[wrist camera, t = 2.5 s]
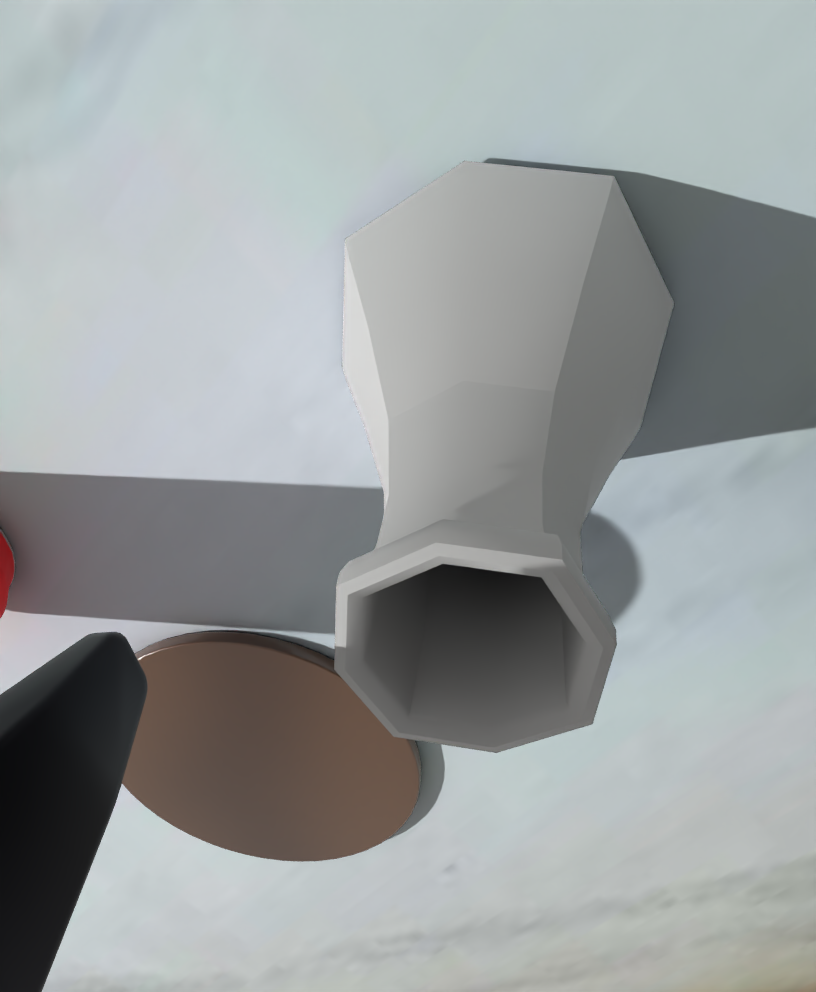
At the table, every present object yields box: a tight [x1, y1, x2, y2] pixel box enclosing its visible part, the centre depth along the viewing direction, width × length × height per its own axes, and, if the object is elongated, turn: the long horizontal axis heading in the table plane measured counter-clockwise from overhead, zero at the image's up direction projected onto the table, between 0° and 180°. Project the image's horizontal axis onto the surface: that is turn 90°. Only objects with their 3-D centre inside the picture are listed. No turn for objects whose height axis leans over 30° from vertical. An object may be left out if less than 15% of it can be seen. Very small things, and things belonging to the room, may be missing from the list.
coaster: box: [122, 632, 421, 861], centre depth 26 cm, size 11×11×1 cm
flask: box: [334, 161, 674, 753], centre depth 13 cm, size 7×7×10 cm
